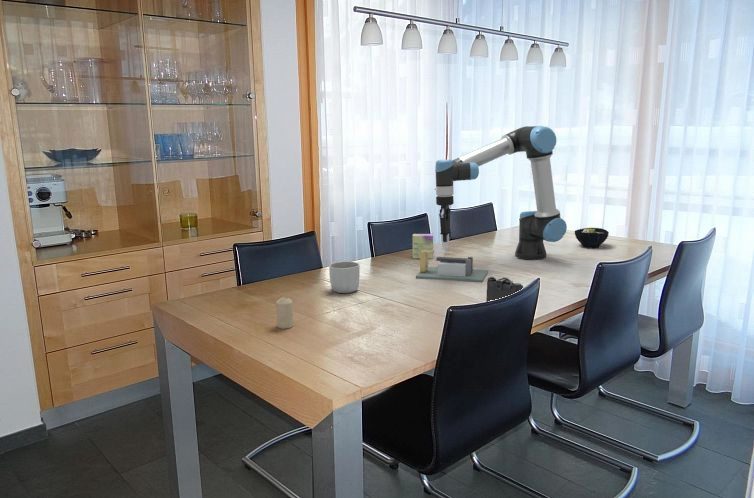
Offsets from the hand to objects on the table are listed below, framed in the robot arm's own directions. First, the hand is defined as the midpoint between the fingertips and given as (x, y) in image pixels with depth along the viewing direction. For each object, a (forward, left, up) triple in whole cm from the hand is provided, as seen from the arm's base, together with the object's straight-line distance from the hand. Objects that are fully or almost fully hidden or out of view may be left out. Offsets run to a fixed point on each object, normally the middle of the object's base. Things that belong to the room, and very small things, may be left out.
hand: (445, 248), depth 259 cm
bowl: (-63, -77, -12) cm, 100 cm away
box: (+18, -32, -12) cm, 39 cm away
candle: (+38, +81, -12) cm, 90 cm away
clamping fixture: (-3, 0, -12) cm, 12 cm away
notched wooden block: (+8, 0, -11) cm, 14 cm away
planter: (+34, +35, -12) cm, 51 cm away
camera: (-31, +36, -12) cm, 49 cm away
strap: (-4, 0, -6) cm, 7 cm away
